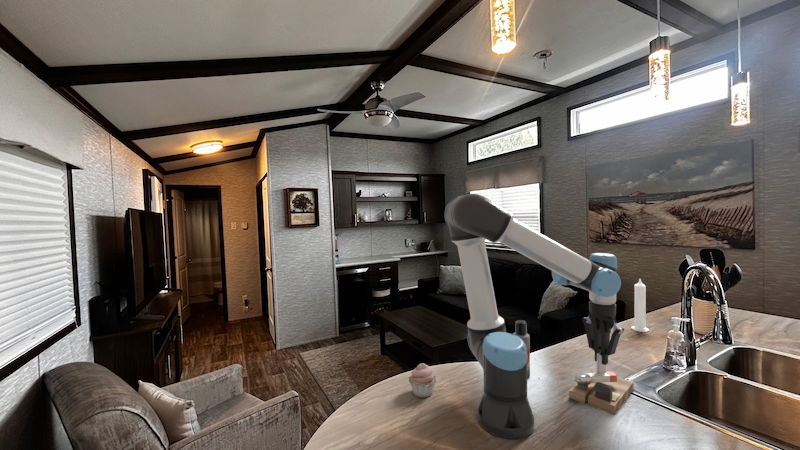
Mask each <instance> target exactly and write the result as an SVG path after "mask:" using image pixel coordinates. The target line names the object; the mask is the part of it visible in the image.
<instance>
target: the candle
mask: <svg viewBox="0 0 800 450" xmlns="http://www.w3.org/2000/svg"><path fill="white" fill-rule="evenodd" d="M633 285H634V286H633V287H634V293H633V294H634V296H633V297H634V298H633V299H634V302H633V303H634V304H633V305H634V307H633V308H634V314H633V315H634V319H633V320H634V323H633V325H632V326H631V330H632V331H635V332H639V333H648V332H650V329H649V328H648V327H647V325H646V324H647V323H646V322H647V321H646V320H647V319H646V318H647V316H646V314H647V313H646V312H647V307H646V306H647V304H646V303H647V301H646V299H647V294H646V293H647V290H646V289H647V286H646V285H645V284H644V283H643V282H642V279H641V278H639V279H638V282H637V283H635V284H633Z"/></svg>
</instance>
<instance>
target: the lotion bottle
mask: <svg viewBox="0 0 800 450" xmlns="http://www.w3.org/2000/svg"><path fill="white" fill-rule="evenodd" d="M514 324H515V325H514V326H515V332H513V333H512V335H516V336H517V337H519V338H520V339H522V340H523V342H524V343H525V345H526V349H527V355H528V360H527V380H529V379H530V378H531V364H530V363H531V355H530V354H531V345H530V344H531V343H530V342H531V341H530V339H531V338H530V334H529V333H528V329H527V328H528V327H527V326H528V324H527V322H526V320H522V319H518V320H516V321H515V323H514Z"/></svg>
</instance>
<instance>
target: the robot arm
mask: <svg viewBox="0 0 800 450" xmlns="http://www.w3.org/2000/svg"><path fill="white" fill-rule="evenodd" d="M513 217H514V216H513V213H512V212H510V210H507V209H506V208H504V207H502V206H500V205H499V204H497V203H495V202H494V201H492V200H490V199H489V198H487V197H486V196H484V195H481V194H478V193H467V194H464V195H458V196H456V197H454V198H453V199H451V200H450V201H449V202H448V204H447V205H446V207H445V209H444V221H445V223H446V225H447V227H448V228H449V229H448V230H449V235H450V240H451V242H452V243H453V244H455V245H456V246H457V251H458V257H459V261H460V267H461V272H462V277H463V283H464V284H463V285H464V289H465V294H466V300H467V306H468V310H469V316H470V319H469V320H468V321H467V323H466V325H467V331H468V333H467V344H468V347H469V350H470V351H471V354H472V355H473V356H474V357H475V359H476V360H477V362H478V363H479V365H480V366H481V368H482V371H483V393H482V396H481V398H480V399H481V400H480V402H479V405H478V408H477V422H478V424H479V425H480V427H481V428H482V429H483V430H485V431H486V432H488V433H490V434H492V435H494V436H496V437H498V438H499V437H500V438H503V439H511V440H513V439H514V440H515V439H516V440H518V439H522V438H526V437H528V436H531V434H533V432H534V430H535V417H534V414H533V411H532V410H533V409H532V407H531V405H530V401H529V398H528V379H527V360H528V355H527V349H526V345H525V343H524V342H523V340H522V339H520V338H519V337H517V336H516V335H513V333H509V332H507V328H506V324H505V319H504V318H503V317H502V316H500V315H499V313H498V307H497V301H496V296H495V295H496V294H495V290H494V285H493V280H492V274H491V268H490V263H489V258H488V252H487V248H486V247H487V245H486V240H487V241H489V242H490V243H493V244H496V243H501V244H502V245H505V246H506V247H507V248H510V249H512V250H513V251H515V252H517V253H519V254H520V255H523V256H524V257H526V258H528V259H530V260H531V261H534V262H535V263H538V264H539V265H541V266H543V267H545V268H546V269H548V270H550V271H551V277H552V279H553V281H554V283H555V284H556V285H560V286H569V285H570V286H573V287H576V288H580V289H582V290H585V291H587V292H588V293H589V294H588V298H589V300H590V301H588V311H589V313H588V316H587V317H581V321H582V324H583V325H584V329H585V334H586V339H587V344H588V348H589V349H592V351H593V352H594V361H595V362H596V371H597V373H598V372H607V370H606V369H607V367H606V365H608V364H609V356H612V355H614V354H615V353H616V351H617V347H618V345H619V341H620V337H621V335H622V334H623V332H624V331H625V328H623V327H620V325H618V322H617V319H616V316H617V304H616V302H617V294H618V292H619V291H620V289H621V286H622V281H621V278H620V275H619V274H618V258H617V256H616V255H615V254H612V253H608V252H607V253H605V252H594V253H590V255H589V259H587V258H586V257H585V256H582V255H581V254H578V253H576V252H575V251H573V250H571V249H569V248H568V247H566V246H565V245H562V244H561V243H559V242H557V241H556V240H553V239H551V238H549V237H548V236H547V235H545V234H542V233H540V232H539V231H537V230H535V229H533V228H532V227H530V226H528V225H526V224H525V223H523V222H521V221H519V220H517V219H516V218H513ZM611 333H612V334H611Z"/></svg>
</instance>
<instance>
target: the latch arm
mask: <svg viewBox="0 0 800 450" xmlns="http://www.w3.org/2000/svg"><path fill="white" fill-rule="evenodd" d="M617 377H618V375H617V373H614V372H613V371H606V372H598V373H589V372H581V371H579V372H575V373H574V382H575V383H576V384H577V383H579V384H582V385H589V384H591V383H597V382H600V383H601V382H617Z"/></svg>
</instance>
